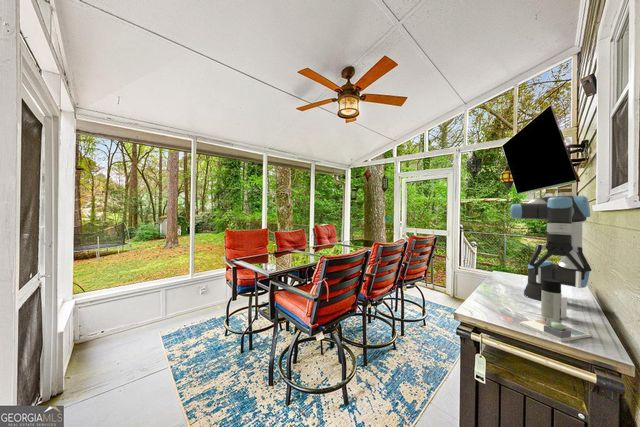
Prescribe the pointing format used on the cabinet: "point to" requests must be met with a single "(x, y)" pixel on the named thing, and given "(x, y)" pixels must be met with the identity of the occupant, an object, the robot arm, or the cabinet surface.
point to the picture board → (546, 329)
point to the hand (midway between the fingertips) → (557, 285)
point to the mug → (563, 306)
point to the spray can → (551, 301)
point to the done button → (557, 326)
